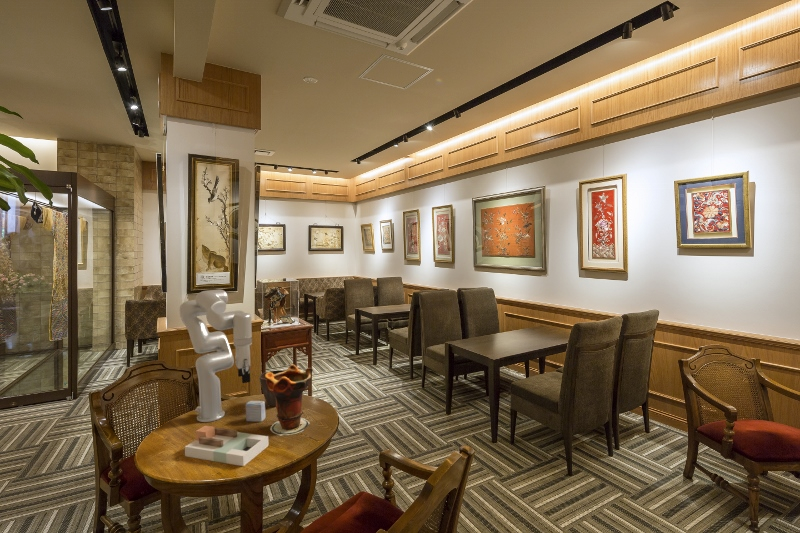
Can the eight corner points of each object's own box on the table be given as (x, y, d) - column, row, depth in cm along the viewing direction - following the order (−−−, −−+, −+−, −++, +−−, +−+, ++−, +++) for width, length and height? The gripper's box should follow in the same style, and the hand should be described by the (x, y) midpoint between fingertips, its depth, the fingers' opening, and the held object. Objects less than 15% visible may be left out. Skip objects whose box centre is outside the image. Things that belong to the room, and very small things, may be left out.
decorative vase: (322, 416, 193) (319, 361, 190) (297, 441, 171) (293, 379, 168) (285, 412, 199) (282, 358, 196) (257, 435, 177) (252, 376, 174)
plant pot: (268, 397, 219) (267, 369, 218) (294, 399, 217) (293, 370, 216) (255, 409, 204) (254, 379, 203) (282, 410, 202) (281, 379, 201)
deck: (185, 456, 159) (184, 446, 159) (214, 437, 175) (213, 428, 174) (243, 466, 151) (243, 456, 151) (268, 445, 167) (268, 436, 166)
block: (196, 440, 164) (195, 430, 164) (205, 434, 169) (204, 425, 169) (206, 441, 163) (205, 432, 162) (214, 436, 167) (214, 426, 167)
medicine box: (265, 418, 194) (265, 400, 193) (261, 422, 189) (261, 404, 189) (250, 417, 194) (249, 400, 194) (246, 421, 190) (245, 404, 189)
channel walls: (199, 443, 161) (198, 437, 161) (215, 433, 170) (215, 427, 170) (221, 447, 158) (221, 441, 158) (237, 436, 167) (236, 430, 167)
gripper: (230, 338, 179) (232, 375, 180) (237, 347, 164) (238, 386, 165) (248, 336, 183) (249, 372, 184) (255, 344, 168) (256, 383, 169)
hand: (244, 379), depth 175 cm, fingers open, 9 cm apart
